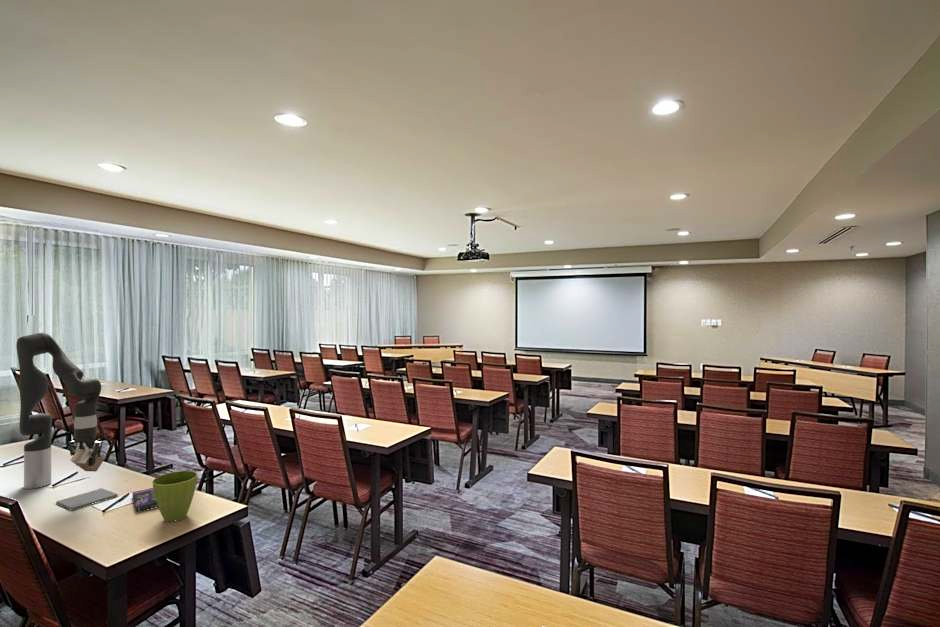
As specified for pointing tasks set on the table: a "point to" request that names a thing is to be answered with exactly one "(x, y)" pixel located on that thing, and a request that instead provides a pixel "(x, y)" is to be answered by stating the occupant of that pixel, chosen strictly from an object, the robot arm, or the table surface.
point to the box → (144, 499)
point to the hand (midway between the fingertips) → (85, 465)
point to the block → (85, 461)
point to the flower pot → (174, 493)
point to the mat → (86, 499)
